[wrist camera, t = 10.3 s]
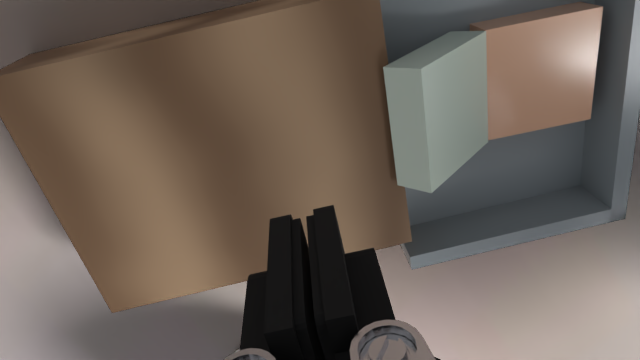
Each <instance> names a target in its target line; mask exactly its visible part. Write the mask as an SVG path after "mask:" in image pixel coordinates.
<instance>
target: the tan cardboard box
mask: <svg viewBox="0 0 640 360" xmlns="http://www.w3.org/2000/svg"><path fill="white" fill-rule="evenodd" d="M386 65H388V57H387V50H386V42H385V35H384V28H383V20H382V13H381V5H380V0H259V1H255V2H250V3H246V4H242V5H238V6H233V7H229V8H225V9H221V10H216V11H212V12H208V13H203V14H199V15H195V16H191V17H186V18H182V19H178V20H174V21H169V22H165V23H161V24H157V25H152V26H148V27H144V28H140V29H135V30H131V31H127V32H122V33H118V34H114V35H110V36H105V37H101V38H97V39H93V40H88V41H84V42H80V43H76V44H71V45H67V46H63V47H58V48H54V49H50V50H46V51H41V52H37V53H33V54H29V55H27V56H26V57H24V58H22V59H20V60H18V61H16V62H14V63H12V64H10V65H8V66H6V67H4V68H2V69H1V70H0V117H1V119H2V121H3V123H4V124H5V126H6V128H7V130H8V131H9V133H10V135H11V137H12V138H13V140H14V142H15V144H16V145H17V147H18V149H19V151H20V152H21V154H22V156H23V158H24V159H25V161H26V163H27V165H28V166H29V168H30V170H31V172H32V173H33V175H34V177H35V179H36V180H37V182H38V184H39V186H40V187H41V189H42V191H43V193H44V195H45V196H46V198H47V200H48V202H49V203H50V205H51V207H52V209H53V210H54V212H55V214H56V216H57V217H58V219H59V221H60V223H61V224H62V226H63V228H64V230H65V231H66V233H67V235H68V237H69V238H70V240H71V242H72V244H73V245H74V247H75V249H76V251H77V252H78V254H79V256H80V258H81V259H82V261H83V263H84V265H85V266H86V268H87V270H88V272H89V273H90V275H91V277H92V279H93V280H94V282H95V284H96V286H97V287H98V289H99V291H100V293H101V294H102V296H103V298H104V300H105V302H106V303H107V305H108V307H109V309H110V310H111V312H112V313H114V312H118V311H122V310H127V309H131V308H135V307H139V306H143V305H148V304H152V303H156V302H160V301H164V300H169V299H173V298H177V297H181V296H185V295H189V294H194V293H198V292H202V291H206V290H210V289H215V288H219V287H223V286H227V285H231V284H236V283H240V282H244V281H247V280H248V276H249V275H250V274H254V273H259V272H263V271H267V261H268V242H269V223H270V219H272V218H276V217H281V216H285V215H290V214H291V215H292V218H293V219H297V218H300V219H301V222H302V226H303V229H304V233H305V236H306V240H307V244H308V234H307V222H306V216H311V215H314V214H313V209H317V208H321V207H326V206H330V205H334V208H335V213H336V217H337V221H338V225H339V230H340V234H341V238H342V243H343V247H344V251H345V254H346V253H351V252H355V251H360V250H364V249H369V248H374V250H378V249H382V248H387V247H391V246H395V245H399V244H403V243H408V242H412V236H411V229H410V221H409V214H408V207H407V199H406V192H405V187H403V186H399V185H397V177H396V169H395V161H394V153H393V144H392V136H391V128H390V120H389V112H388V103H387V95H386V87H385V79H384V71H383V67H384V66H386Z"/></svg>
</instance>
